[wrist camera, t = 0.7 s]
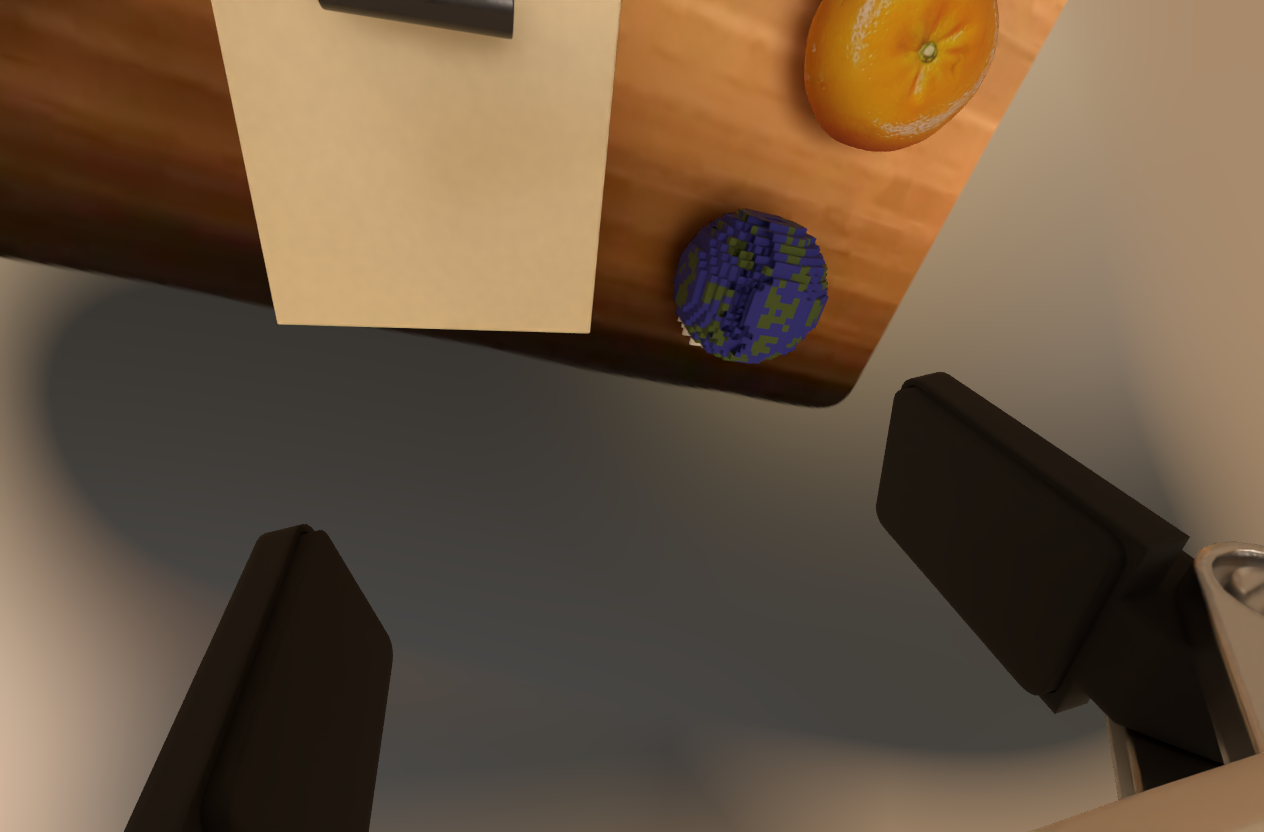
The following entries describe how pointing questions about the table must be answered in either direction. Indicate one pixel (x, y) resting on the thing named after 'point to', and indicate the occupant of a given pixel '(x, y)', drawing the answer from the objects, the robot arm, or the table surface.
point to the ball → (750, 286)
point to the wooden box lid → (425, 156)
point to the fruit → (896, 66)
